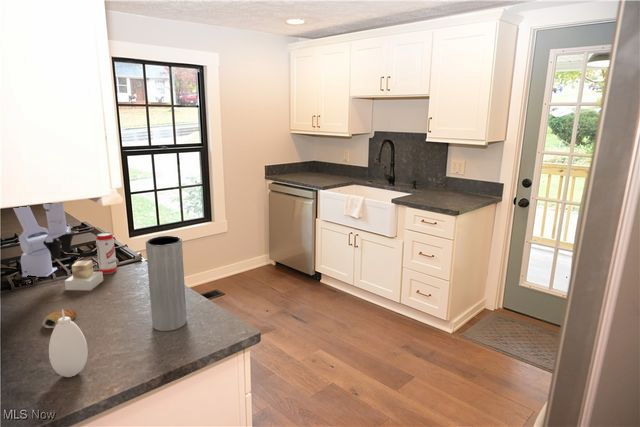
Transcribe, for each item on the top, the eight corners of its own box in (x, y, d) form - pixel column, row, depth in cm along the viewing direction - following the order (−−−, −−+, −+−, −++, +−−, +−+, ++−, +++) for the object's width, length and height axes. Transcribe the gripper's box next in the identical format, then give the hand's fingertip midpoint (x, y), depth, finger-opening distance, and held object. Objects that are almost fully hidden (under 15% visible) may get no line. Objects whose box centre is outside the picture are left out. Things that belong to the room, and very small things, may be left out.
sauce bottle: (45, 380, 99) (34, 312, 95) (74, 362, 106) (65, 298, 102) (68, 388, 96) (58, 319, 92) (97, 369, 103) (89, 304, 99)
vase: (152, 318, 129) (145, 237, 123) (185, 313, 133) (180, 234, 126) (152, 334, 120) (145, 247, 114) (187, 328, 124) (182, 243, 117)
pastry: (64, 313, 131) (62, 302, 130) (82, 316, 130) (81, 305, 129) (40, 328, 122) (38, 316, 121) (59, 331, 121) (58, 319, 120)
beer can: (120, 269, 167) (116, 232, 164) (111, 275, 161) (107, 236, 157) (105, 268, 168) (101, 231, 164) (96, 274, 162) (91, 236, 158)
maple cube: (73, 278, 149) (71, 265, 148) (79, 273, 154) (78, 260, 152) (87, 278, 149) (86, 265, 148) (93, 273, 154) (92, 260, 153)
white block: (65, 290, 148) (64, 280, 147) (79, 280, 156) (78, 271, 156) (90, 291, 148) (89, 281, 147) (103, 281, 157) (102, 271, 156)
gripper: (58, 224, 143) (63, 261, 146) (77, 215, 157) (81, 248, 160) (36, 225, 142) (42, 262, 145) (57, 215, 156) (62, 249, 159)
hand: (61, 255), depth 153 cm, fingers open, 7 cm apart
